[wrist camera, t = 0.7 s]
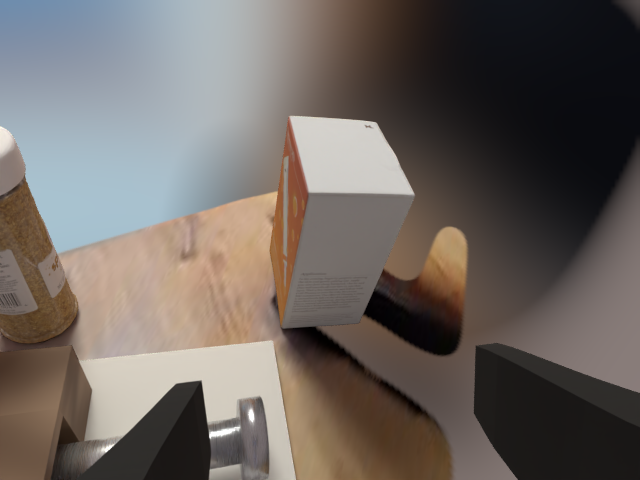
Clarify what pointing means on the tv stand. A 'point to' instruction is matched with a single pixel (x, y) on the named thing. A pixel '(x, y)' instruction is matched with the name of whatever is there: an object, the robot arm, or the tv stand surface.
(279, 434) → the board
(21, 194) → the sprinkles bottle
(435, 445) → the tv stand surface
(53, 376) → the block
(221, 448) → the pin
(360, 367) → the tv stand surface
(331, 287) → the small box
